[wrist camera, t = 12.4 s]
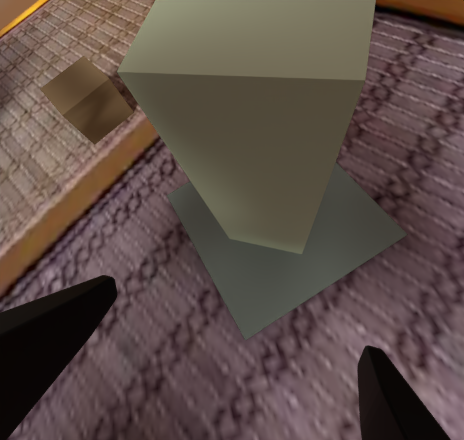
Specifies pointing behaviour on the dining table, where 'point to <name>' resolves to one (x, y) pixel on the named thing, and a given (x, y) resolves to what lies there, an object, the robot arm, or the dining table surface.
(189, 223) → the slate mat
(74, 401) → the dining table surface
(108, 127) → the walnut block
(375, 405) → the robot arm
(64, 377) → the dining table surface
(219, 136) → the sage block
